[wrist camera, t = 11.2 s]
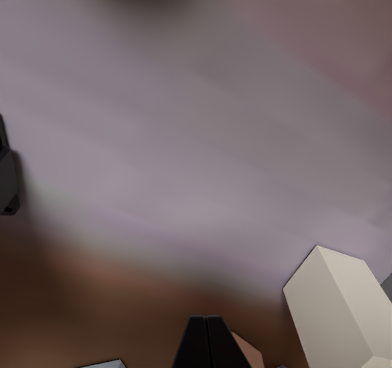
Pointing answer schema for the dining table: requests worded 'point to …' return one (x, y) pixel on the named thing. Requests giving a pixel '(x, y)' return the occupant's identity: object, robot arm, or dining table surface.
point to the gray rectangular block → (108, 365)
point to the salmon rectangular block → (250, 352)
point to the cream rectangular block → (340, 312)
